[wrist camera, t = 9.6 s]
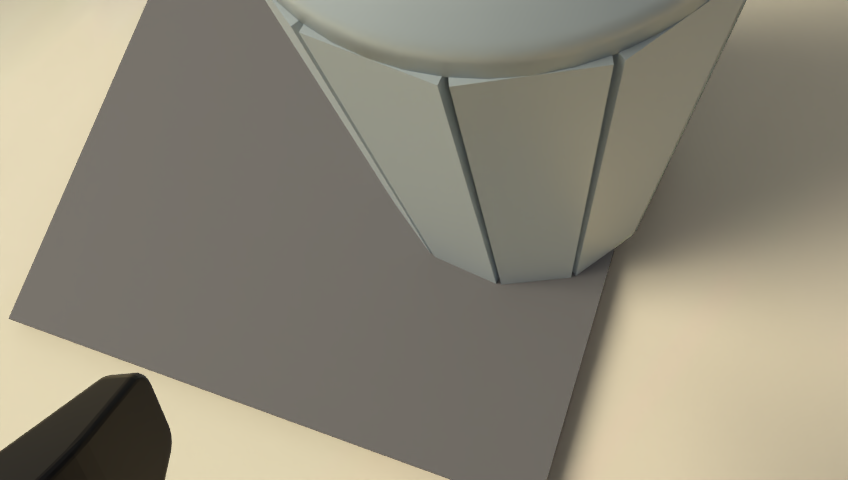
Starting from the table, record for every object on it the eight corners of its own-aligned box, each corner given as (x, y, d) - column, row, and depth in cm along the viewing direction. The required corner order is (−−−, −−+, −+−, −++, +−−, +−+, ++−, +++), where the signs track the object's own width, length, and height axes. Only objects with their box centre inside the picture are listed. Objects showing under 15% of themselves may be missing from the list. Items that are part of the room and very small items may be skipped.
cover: (679, 266, 19) (916, -14, 7) (399, 295, 20) (183, 87, 8) (637, 11, 21) (771, -562, 9) (381, 47, 22) (184, -430, 10)
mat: (537, 508, 19) (537, 511, 18) (20, 321, 22) (8, 318, 21) (677, 32, 21) (680, 22, 21) (192, -76, 24) (185, -87, 24)
